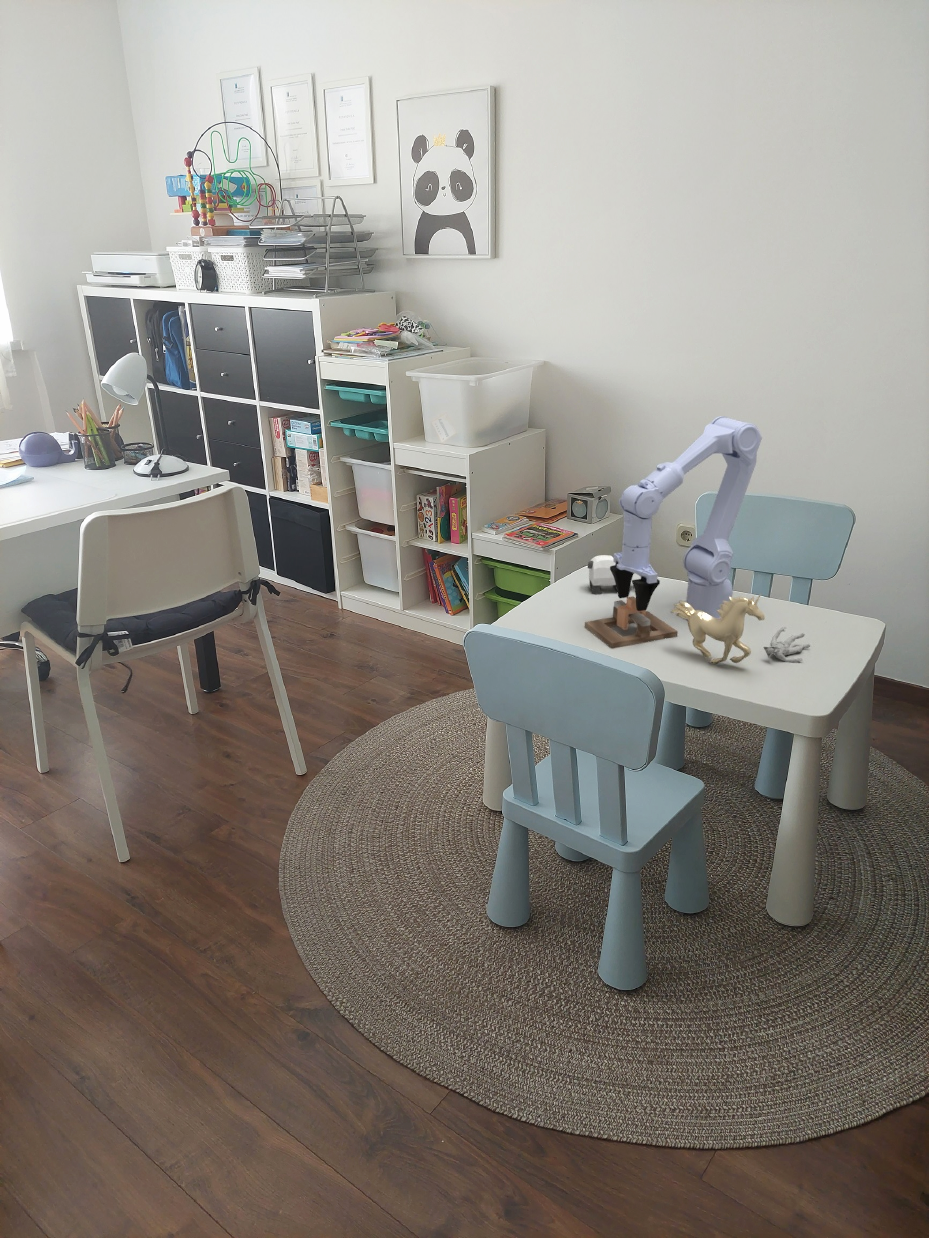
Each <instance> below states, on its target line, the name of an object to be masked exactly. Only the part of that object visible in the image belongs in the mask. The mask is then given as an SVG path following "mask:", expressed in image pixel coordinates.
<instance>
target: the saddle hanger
mask: <svg viewBox="0 0 929 1238" xmlns="http://www.w3.org/2000/svg"><path fill="white" fill-rule="evenodd" d="M625 603H626V605H623V606H618V611H617V626H618V627H619V628H620V629H622V630H624V631H625V630H628V629H629V623H628V618H629V614H633V613H638V612H639V613H641V614H642V615H644V616H645V615H646V611H647V610H643V611H638V610H637V609H636V596H634V595H633V596H628V597H626V602H625ZM633 622H634V623H635V624H636V625H637V622H635V621H633Z"/></svg>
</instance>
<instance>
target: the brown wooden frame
mask: <svg viewBox="0 0 929 1238" xmlns="http://www.w3.org/2000/svg"><path fill="white" fill-rule="evenodd" d="M623 605H626V602H625V601H623V600H621V599H620V600H615V601H613V609H612V610H613V611H612V616H611V617H606V618H602V619H600V618H599V619H596V620H589V621H585V622H584V628H586V630H588V631H589V632H590V633H591V634H593V635H594V634H595V635H594V636H595V637H597V638H598V639H599V640H600V641H602V642H603V641H604V642H603V643H604V644H606V645H607V646H608V647H609V646H610V647H609V648H611V649H616V648H622V647H626V646H633V645H637V644H643V643H644V644H645V643H649V642H654V640H655V641H659V640H665V638H666V639H669V638H670V639H671V638H676V637H678V634H679V633H678V632H679V631H678V630H677V629H675V628H673V627H672V626H671V625H670V624H668V623H666V622H665V621H663V620H662V619H661V618H659V617H658V616H655V615H654V614H653V613H651V612H650V611H648V610H646V615H645V616H644V615H642V614H641V613H639V612H638V613H633V614H629V618H628V624H633V623H635V622H637V624H636V634H630V635H626V636H625V635H624V636H622V635H620V634H619V633H618V632H616V631H615V630H614V629H612V628H611V627H616V626H618V625H617V611H618V606H623ZM633 621H635V622H633ZM648 641H649V642H648Z"/></svg>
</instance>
